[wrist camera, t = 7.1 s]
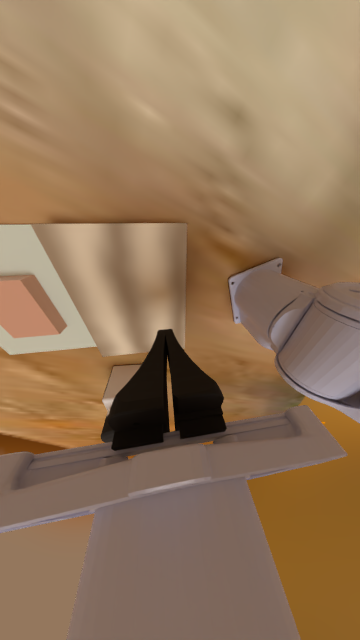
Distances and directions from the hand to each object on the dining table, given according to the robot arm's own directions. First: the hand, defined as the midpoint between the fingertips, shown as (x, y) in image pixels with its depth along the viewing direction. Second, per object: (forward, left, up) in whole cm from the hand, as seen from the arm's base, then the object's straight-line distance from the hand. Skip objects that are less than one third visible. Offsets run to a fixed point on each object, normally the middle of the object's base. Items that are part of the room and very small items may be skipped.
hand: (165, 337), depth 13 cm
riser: (+1, +4, -9) cm, 10 cm away
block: (+6, +17, -7) cm, 20 cm away
